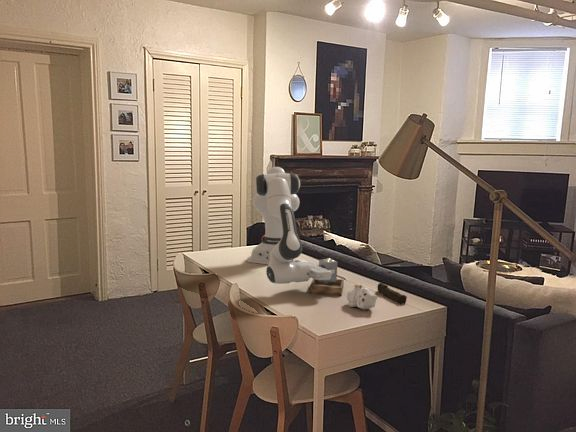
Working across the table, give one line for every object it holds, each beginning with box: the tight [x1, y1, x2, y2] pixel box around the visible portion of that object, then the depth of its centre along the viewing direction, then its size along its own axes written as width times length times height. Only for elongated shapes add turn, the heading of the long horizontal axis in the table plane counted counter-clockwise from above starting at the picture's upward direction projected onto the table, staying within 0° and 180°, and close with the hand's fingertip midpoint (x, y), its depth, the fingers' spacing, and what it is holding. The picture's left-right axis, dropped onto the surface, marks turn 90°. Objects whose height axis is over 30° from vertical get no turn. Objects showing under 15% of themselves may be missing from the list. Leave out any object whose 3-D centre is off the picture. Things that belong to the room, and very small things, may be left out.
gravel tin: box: [318, 257, 338, 285], centre depth 216 cm, size 6×6×11 cm
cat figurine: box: [346, 284, 379, 310], centre depth 194 cm, size 10×8×15 cm
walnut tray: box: [309, 278, 345, 297], centre depth 217 cm, size 14×14×4 cm
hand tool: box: [377, 282, 408, 304], centre depth 210 cm, size 19×4×5 cm, turn 20°
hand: (329, 269), depth 217 cm, fingers closed on gravel tin, 6 cm apart
